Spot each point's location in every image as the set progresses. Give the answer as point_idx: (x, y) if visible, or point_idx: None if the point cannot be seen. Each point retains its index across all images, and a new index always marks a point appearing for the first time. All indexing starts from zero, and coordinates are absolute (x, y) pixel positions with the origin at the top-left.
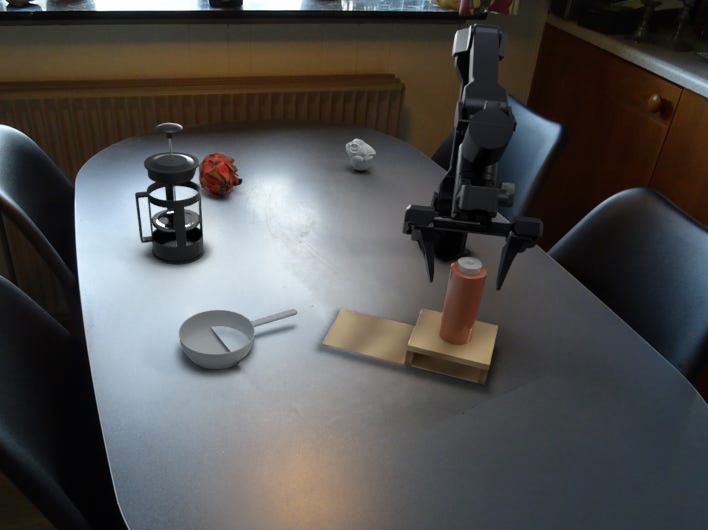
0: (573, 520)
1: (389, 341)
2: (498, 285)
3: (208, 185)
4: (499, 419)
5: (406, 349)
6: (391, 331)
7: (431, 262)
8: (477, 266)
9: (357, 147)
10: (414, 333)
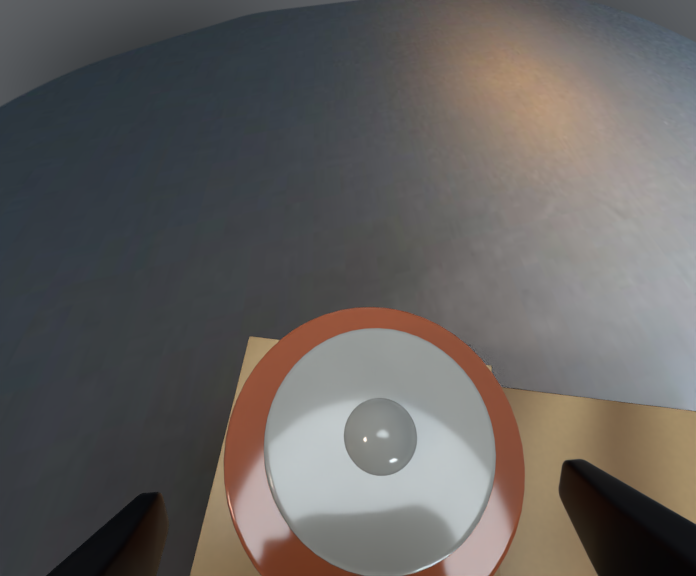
0: (161, 117)
1: (539, 480)
2: (148, 502)
3: None
4: (239, 278)
5: None
6: (552, 546)
7: (690, 539)
8: (312, 380)
9: None
10: None
